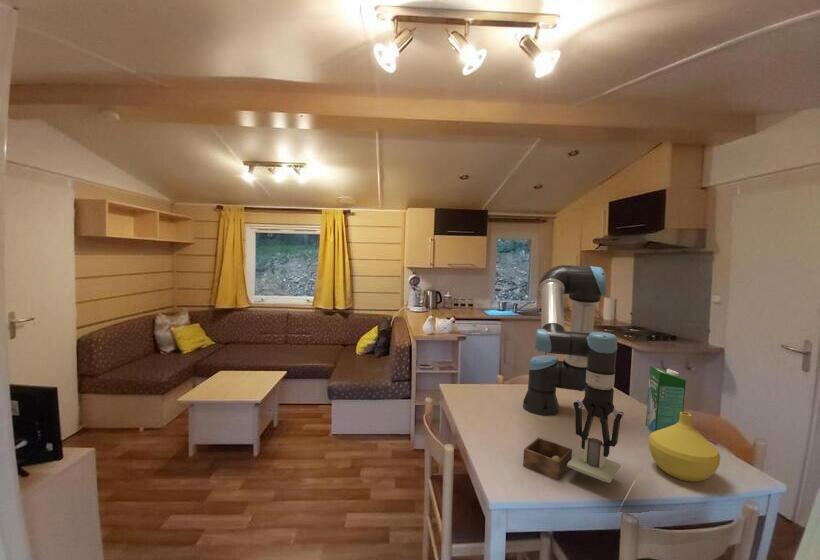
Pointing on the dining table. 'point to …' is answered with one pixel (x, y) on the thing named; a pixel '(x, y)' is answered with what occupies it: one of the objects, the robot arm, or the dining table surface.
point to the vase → (684, 451)
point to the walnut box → (547, 458)
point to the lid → (594, 463)
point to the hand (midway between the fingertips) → (594, 462)
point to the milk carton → (664, 398)
